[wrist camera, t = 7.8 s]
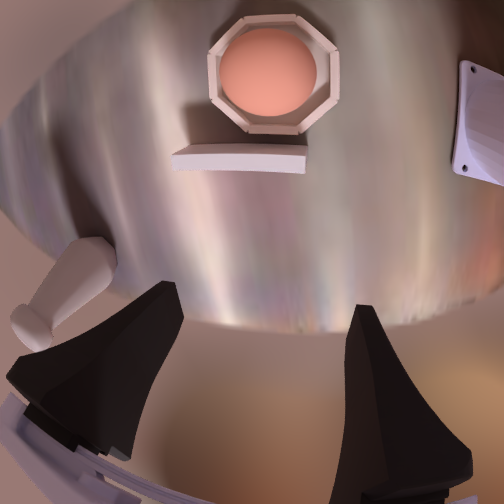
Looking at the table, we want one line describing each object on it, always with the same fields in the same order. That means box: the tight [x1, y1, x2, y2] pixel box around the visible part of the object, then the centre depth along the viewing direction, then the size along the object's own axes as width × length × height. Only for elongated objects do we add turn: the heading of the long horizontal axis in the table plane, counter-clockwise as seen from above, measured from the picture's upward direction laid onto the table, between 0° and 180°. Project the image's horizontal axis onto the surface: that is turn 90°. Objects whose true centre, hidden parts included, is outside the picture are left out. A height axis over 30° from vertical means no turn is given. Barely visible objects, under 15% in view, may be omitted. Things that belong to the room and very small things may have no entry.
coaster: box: [207, 14, 339, 135], centre depth 14 cm, size 8×8×1 cm
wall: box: [171, 143, 308, 174], centre depth 17 cm, size 8×1×3 cm, turn 92°
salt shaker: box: [10, 237, 117, 352], centre depth 21 cm, size 6×6×13 cm
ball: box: [219, 28, 317, 116], centre depth 12 cm, size 5×5×5 cm
